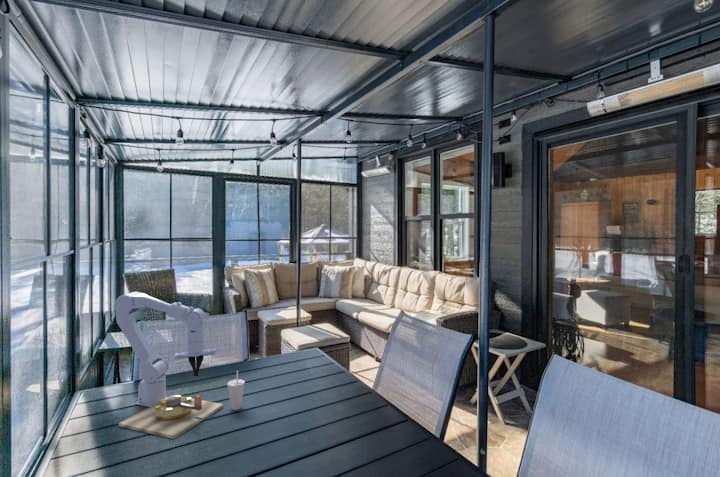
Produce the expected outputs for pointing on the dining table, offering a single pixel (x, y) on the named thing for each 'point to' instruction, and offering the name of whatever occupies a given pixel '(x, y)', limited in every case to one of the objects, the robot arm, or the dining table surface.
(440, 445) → the dining table surface
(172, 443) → the dining table surface
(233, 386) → the smoothie
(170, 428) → the base plate
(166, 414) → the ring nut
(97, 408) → the dining table surface
